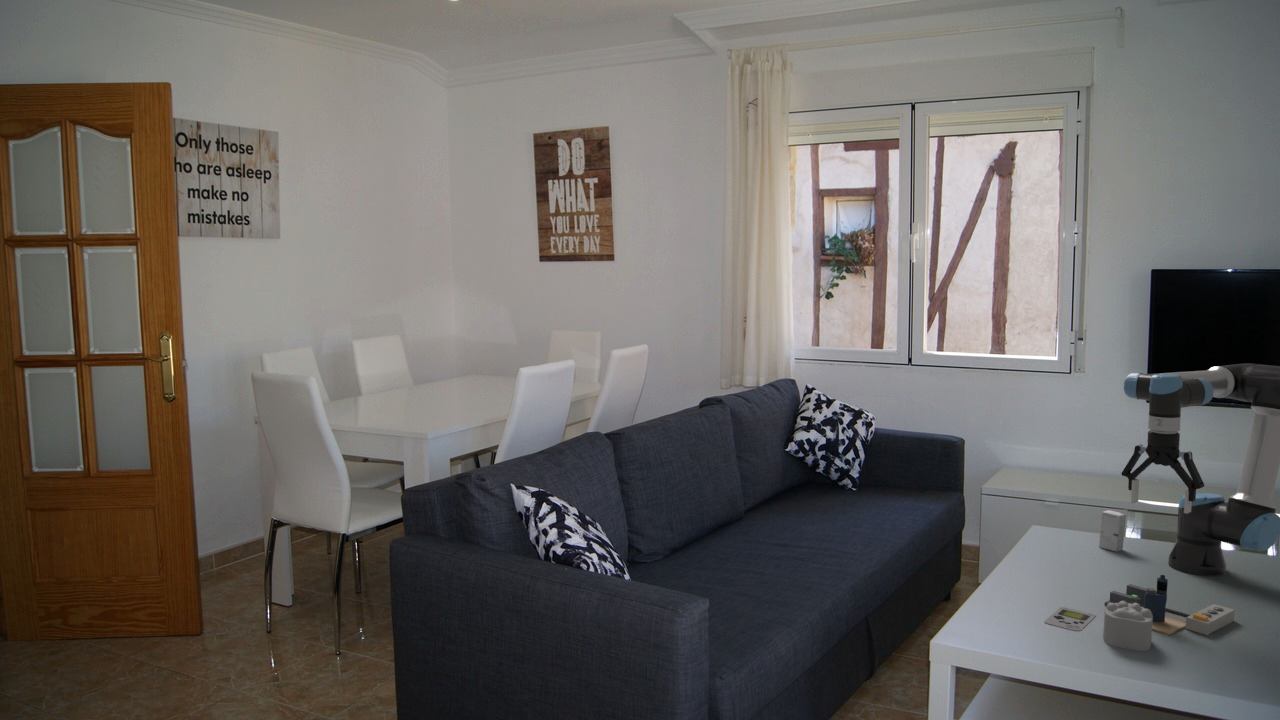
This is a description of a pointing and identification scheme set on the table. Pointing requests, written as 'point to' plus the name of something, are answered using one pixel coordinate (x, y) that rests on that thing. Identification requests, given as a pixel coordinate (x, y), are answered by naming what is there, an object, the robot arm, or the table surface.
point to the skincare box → (1112, 530)
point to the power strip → (1210, 619)
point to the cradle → (1135, 597)
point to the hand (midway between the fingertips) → (1160, 507)
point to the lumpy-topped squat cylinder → (1128, 626)
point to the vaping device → (1157, 599)
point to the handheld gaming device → (1070, 619)
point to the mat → (1169, 625)
